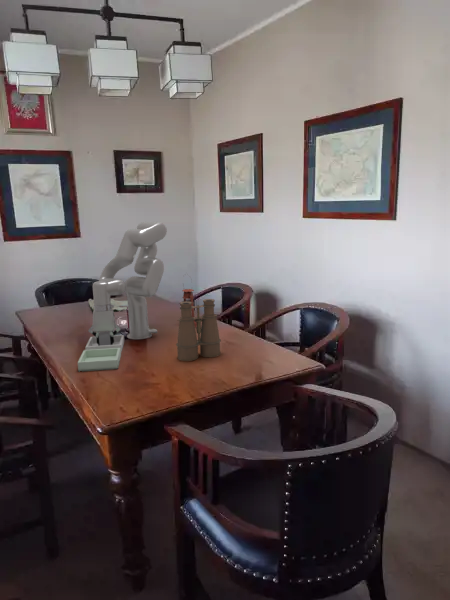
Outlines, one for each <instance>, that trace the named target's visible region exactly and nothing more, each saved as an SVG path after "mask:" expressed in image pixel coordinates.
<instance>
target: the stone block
mask: <svg viewBox="0 0 450 600" xmlns="http://www.w3.org/2000/svg"><path fill="white" fill-rule="evenodd" d="M110 337H111V334H110V332H109V331H106V332H100V333H99V344H100V346H102V345H111V341H110Z"/></svg>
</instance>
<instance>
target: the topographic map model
mask: <svg viewBox="0 0 450 600" xmlns="http://www.w3.org/2000/svg"><path fill="white" fill-rule="evenodd" d="M110 300H111V304H112V305H114V307H113V308H111V309H113V311H114V313H117V312H119V311H120V312H123V311H124V310H125V311H127V310H126V309H127V307H128V301H127V300H116V299H114V298H110ZM88 307H89V308H90V310H91V312H92V313H93V311H94V310H95V309H94V299H92V298H89V299H88Z"/></svg>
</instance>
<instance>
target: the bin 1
mask: <svg viewBox="0 0 450 600" xmlns="http://www.w3.org/2000/svg"><path fill="white" fill-rule="evenodd" d="M124 344H125V335H124V334H119V335H118V334H117V335H116V334H115V335H114V343H113V345H102V346H98V344H97V338H96V337H95V336H90V337H89V339H88V341H87V343H86V346H85V350H92V349H108V348H121V353H122V352H123V348H124Z"/></svg>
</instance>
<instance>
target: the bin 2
mask: <svg viewBox="0 0 450 600" xmlns="http://www.w3.org/2000/svg"><path fill="white" fill-rule="evenodd" d="M121 357H122V352H121V348H108V349H92V350H86V349H83V351H82V353H81V355H80V356H79V359H78V361H77V371H78V372H79V373H80V371H82V372H91V371H106V370H107V371H108V370H118V369H119V366H120V361H121Z"/></svg>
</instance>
